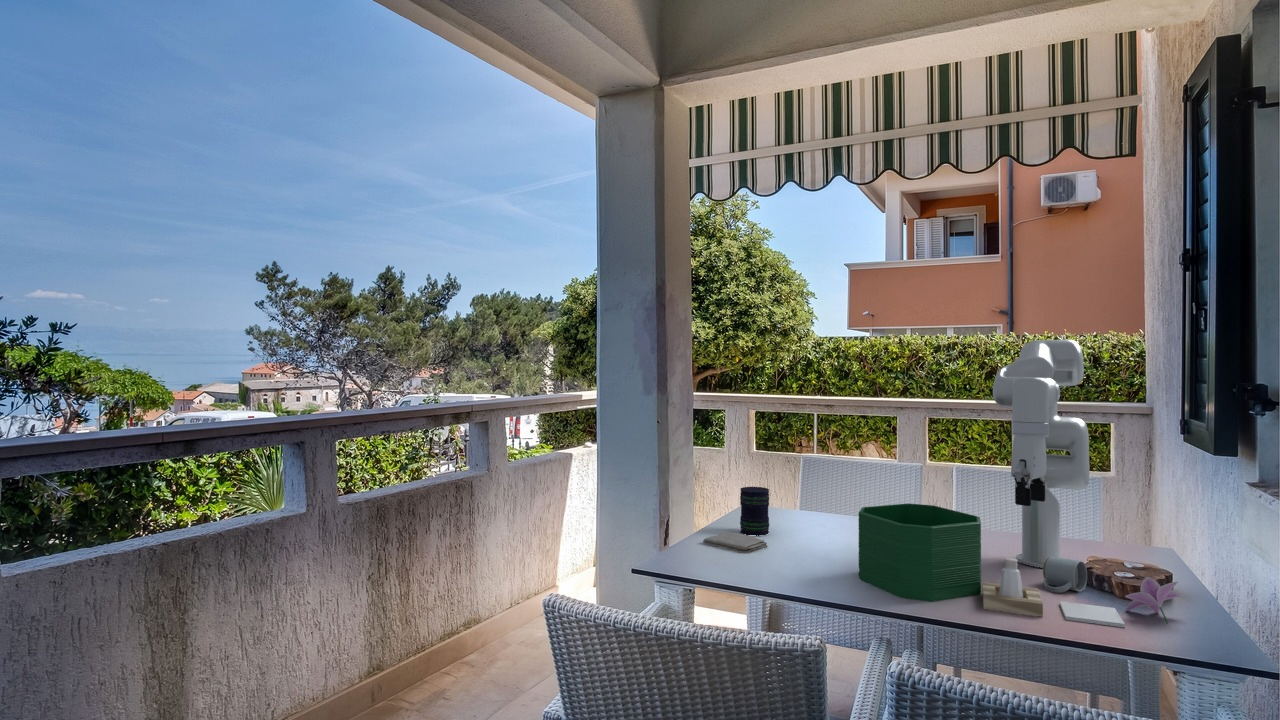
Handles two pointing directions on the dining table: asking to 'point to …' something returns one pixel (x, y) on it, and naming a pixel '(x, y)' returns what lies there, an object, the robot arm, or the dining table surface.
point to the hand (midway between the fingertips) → (1030, 502)
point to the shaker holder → (1012, 600)
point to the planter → (920, 551)
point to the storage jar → (754, 511)
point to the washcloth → (736, 542)
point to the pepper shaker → (1011, 579)
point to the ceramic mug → (1064, 574)
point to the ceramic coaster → (1091, 614)
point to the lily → (1152, 595)
